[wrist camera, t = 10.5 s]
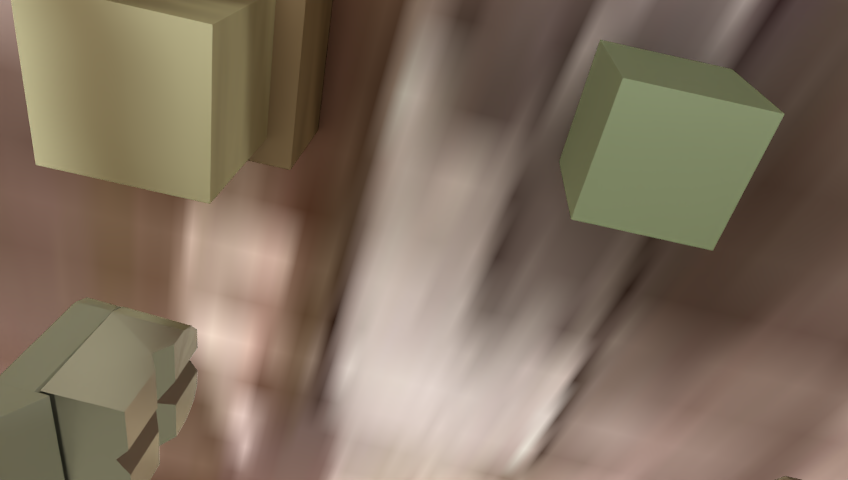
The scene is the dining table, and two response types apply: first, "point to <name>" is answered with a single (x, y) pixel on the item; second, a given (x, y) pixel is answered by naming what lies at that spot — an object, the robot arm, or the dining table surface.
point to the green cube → (663, 145)
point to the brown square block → (295, 80)
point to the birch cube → (147, 88)
